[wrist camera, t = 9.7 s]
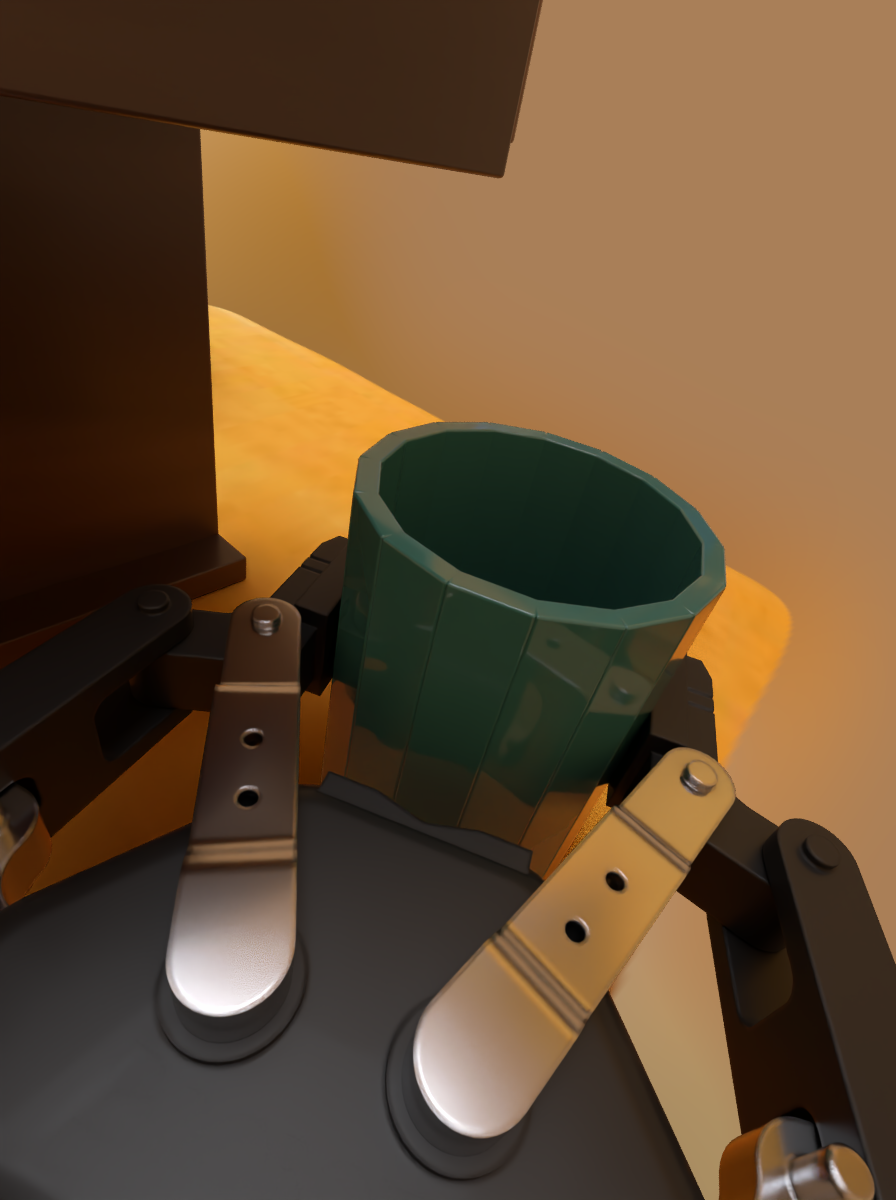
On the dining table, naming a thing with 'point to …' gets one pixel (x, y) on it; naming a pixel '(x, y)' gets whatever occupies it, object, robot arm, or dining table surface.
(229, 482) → the dining table surface
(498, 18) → the drawer unit
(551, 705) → the storage bucket
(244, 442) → the dining table surface
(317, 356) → the dining table surface
